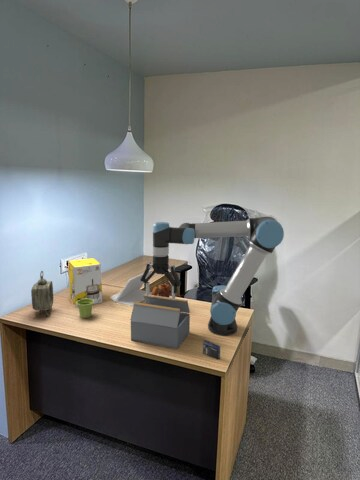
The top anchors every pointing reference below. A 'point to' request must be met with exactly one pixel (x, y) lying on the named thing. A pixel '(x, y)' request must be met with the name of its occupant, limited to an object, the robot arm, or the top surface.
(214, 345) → the mini dv tape
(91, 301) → the plant pot
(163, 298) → the far flap
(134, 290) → the tablet stand
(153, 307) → the near flap
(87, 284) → the packaging box
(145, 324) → the carton
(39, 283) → the tabletop clock
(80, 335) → the top surface
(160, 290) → the reddish brown bumpy lump
